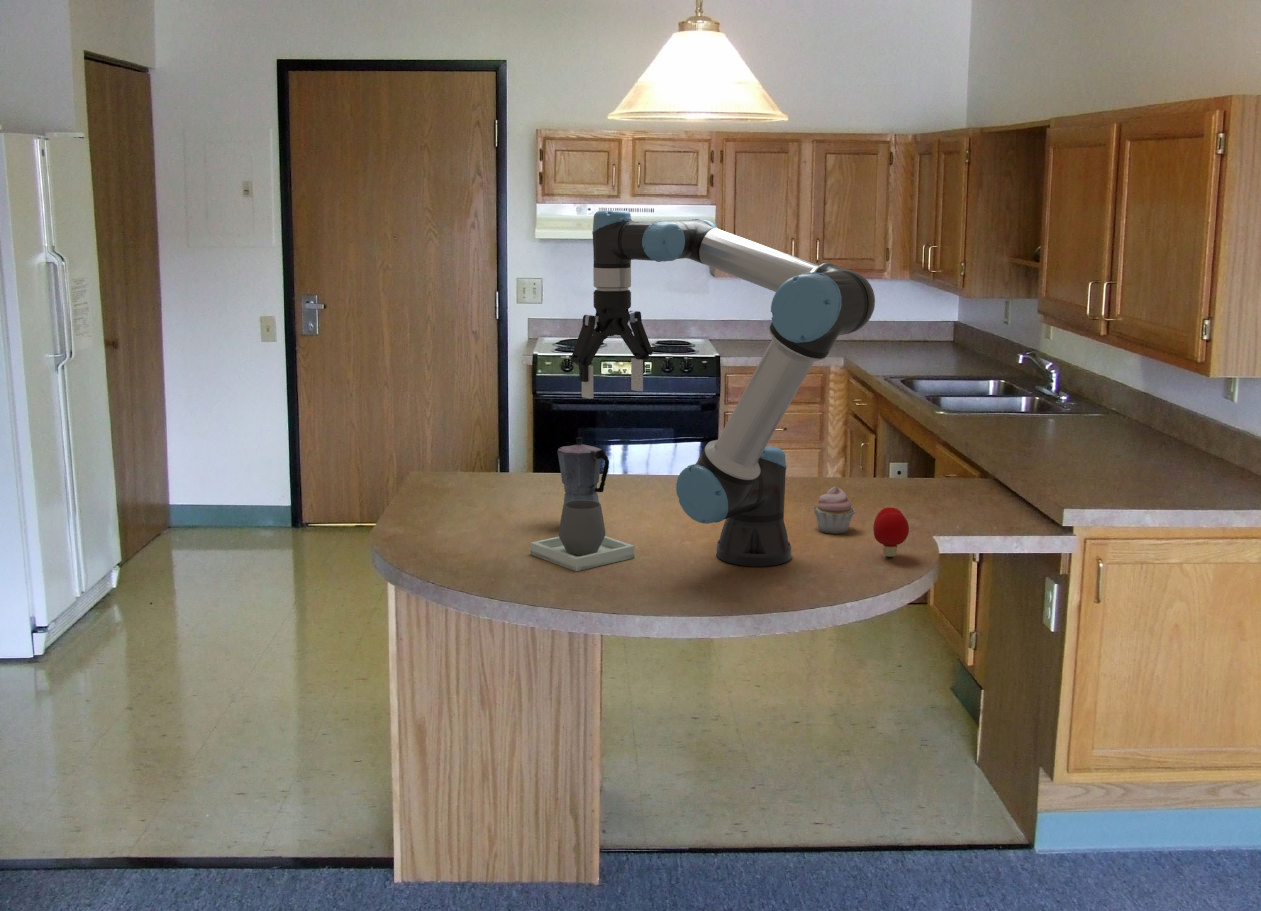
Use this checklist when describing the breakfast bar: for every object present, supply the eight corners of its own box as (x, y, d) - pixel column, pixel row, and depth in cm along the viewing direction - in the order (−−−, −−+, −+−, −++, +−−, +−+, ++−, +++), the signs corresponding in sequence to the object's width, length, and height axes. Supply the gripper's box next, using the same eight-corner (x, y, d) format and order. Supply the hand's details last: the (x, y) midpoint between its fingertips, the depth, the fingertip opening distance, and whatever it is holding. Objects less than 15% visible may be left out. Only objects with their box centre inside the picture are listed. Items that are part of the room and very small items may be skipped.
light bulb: (868, 550, 273) (871, 504, 270) (902, 551, 272) (905, 504, 270) (875, 564, 264) (878, 515, 261) (910, 564, 263) (913, 516, 261)
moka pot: (572, 517, 297) (572, 430, 293) (624, 529, 287) (625, 439, 283) (543, 525, 290) (542, 436, 285) (596, 538, 280) (596, 446, 276)
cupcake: (818, 537, 283) (820, 491, 281) (806, 525, 292) (808, 481, 290) (860, 535, 284) (862, 490, 282) (847, 524, 293) (849, 480, 291)
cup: (614, 554, 266) (614, 506, 263) (574, 561, 260) (574, 512, 258) (588, 543, 273) (589, 496, 271) (550, 550, 268) (550, 502, 266)
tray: (634, 557, 266) (634, 545, 266) (576, 571, 257) (576, 559, 256) (587, 541, 277) (588, 530, 277) (530, 554, 268) (530, 542, 267)
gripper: (644, 284, 274) (644, 385, 278) (552, 291, 257) (553, 398, 262) (669, 286, 269) (669, 389, 273) (577, 293, 252) (578, 403, 256)
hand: (612, 394), depth 267 cm, fingers open, 13 cm apart
